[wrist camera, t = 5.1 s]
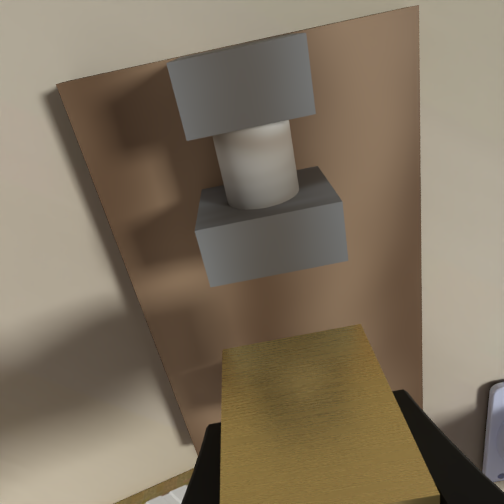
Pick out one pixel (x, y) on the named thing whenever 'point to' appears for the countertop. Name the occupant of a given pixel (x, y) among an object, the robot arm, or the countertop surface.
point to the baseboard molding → (163, 492)
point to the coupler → (316, 426)
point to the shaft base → (350, 165)
